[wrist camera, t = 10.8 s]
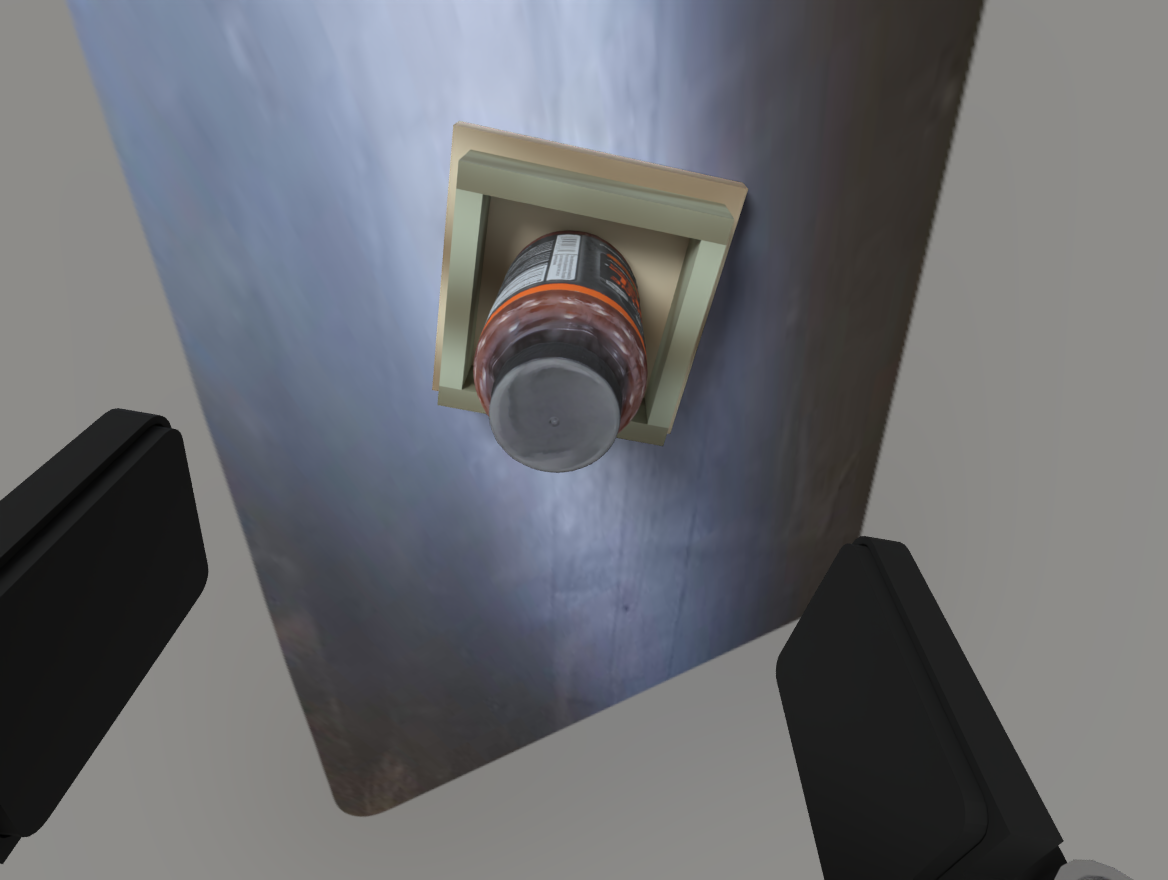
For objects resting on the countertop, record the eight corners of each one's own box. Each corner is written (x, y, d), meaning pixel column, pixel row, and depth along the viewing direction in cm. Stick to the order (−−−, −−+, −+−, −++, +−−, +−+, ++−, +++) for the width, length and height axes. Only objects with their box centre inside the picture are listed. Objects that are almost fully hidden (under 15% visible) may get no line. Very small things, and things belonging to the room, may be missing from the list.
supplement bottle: (659, 322, 30) (685, 462, 20) (544, 373, 31) (518, 527, 22) (601, 199, 27) (601, 294, 17) (479, 263, 28) (415, 382, 19)
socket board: (459, 121, 26) (439, 134, 23) (742, 183, 27) (760, 203, 24) (437, 378, 33) (420, 415, 30) (668, 421, 34) (674, 462, 31)
